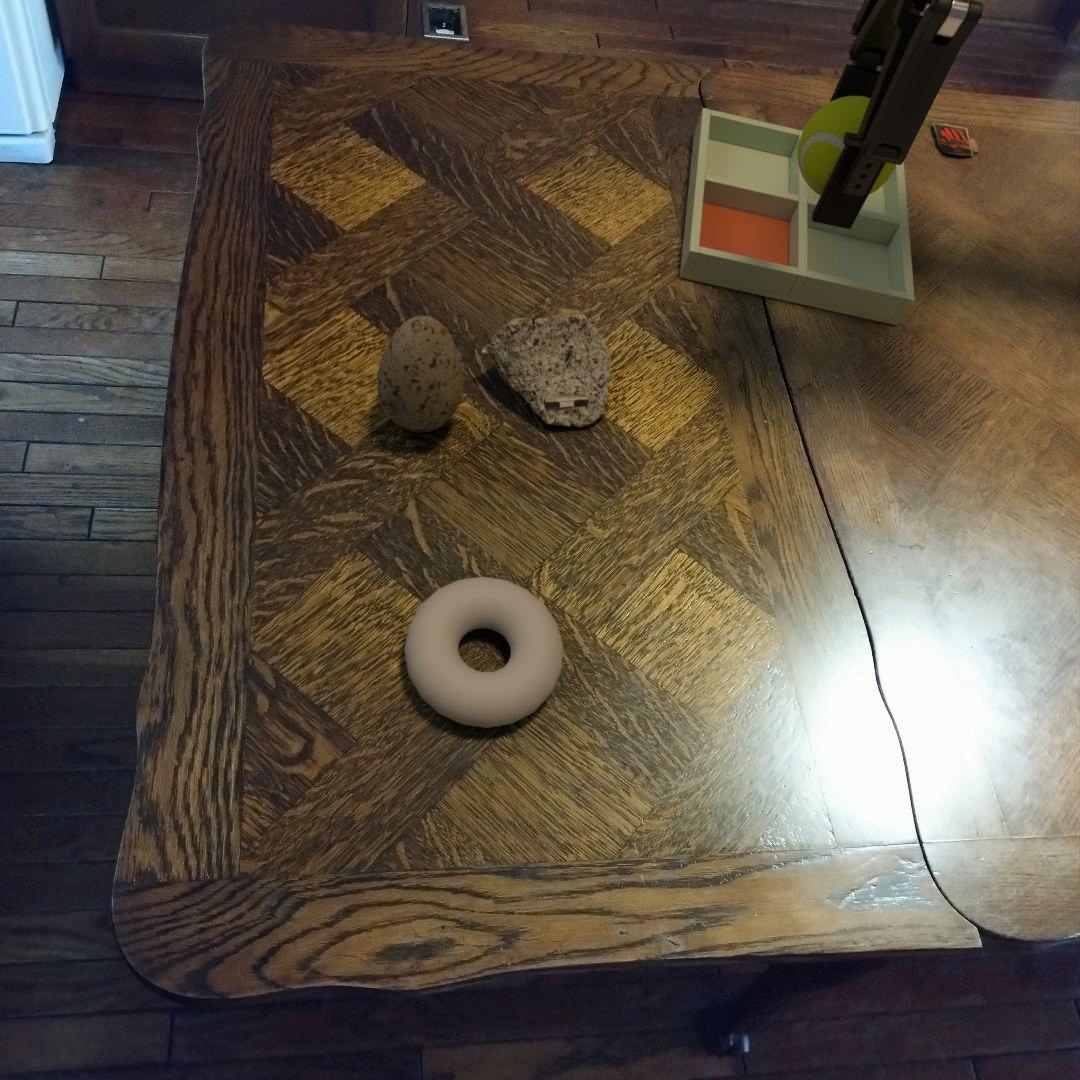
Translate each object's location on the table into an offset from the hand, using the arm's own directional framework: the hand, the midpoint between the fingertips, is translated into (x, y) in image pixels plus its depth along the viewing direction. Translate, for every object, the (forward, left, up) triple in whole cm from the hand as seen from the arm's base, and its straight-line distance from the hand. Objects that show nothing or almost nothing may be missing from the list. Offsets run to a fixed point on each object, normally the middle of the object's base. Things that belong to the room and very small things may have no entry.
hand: (829, 185), depth 70 cm
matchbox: (-20, -32, -15) cm, 40 cm away
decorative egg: (+25, +16, -15) cm, 34 cm away
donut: (+17, +34, -15) cm, 41 cm away
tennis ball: (0, 0, 0) cm, 1 cm away
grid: (-3, -14, -15) cm, 20 cm away
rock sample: (+15, +10, -15) cm, 24 cm away
